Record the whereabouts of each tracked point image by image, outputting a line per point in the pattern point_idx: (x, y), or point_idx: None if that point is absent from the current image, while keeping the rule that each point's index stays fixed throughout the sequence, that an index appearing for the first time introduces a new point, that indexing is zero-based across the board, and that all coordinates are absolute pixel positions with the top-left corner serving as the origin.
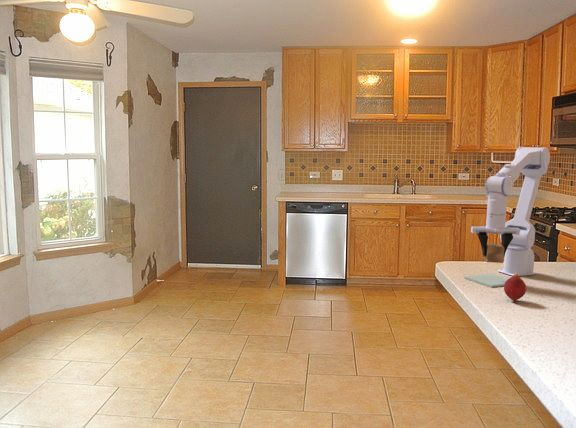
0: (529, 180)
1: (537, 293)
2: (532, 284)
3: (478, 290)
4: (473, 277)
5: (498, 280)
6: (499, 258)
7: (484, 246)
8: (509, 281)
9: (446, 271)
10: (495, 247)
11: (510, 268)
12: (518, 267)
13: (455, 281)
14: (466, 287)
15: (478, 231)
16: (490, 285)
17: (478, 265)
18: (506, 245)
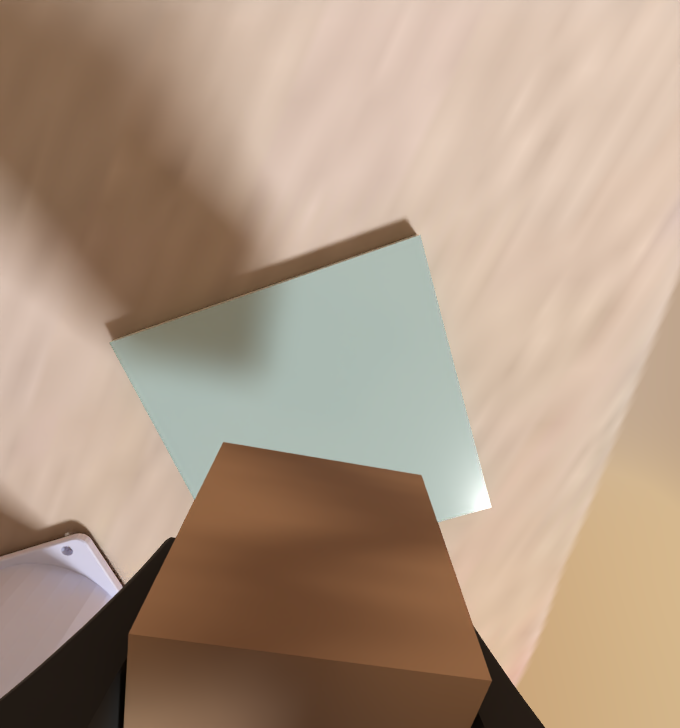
0: None
1: (63, 5)
2: (13, 329)
3: (581, 137)
4: (435, 481)
5: (275, 397)
6: (265, 484)
7: (522, 722)
8: None
9: (509, 650)
10: (331, 651)
11: (77, 617)
12: (8, 609)
13: (602, 419)
14: (626, 242)
15: None
16: (421, 243)
17: None
18: (41, 709)
